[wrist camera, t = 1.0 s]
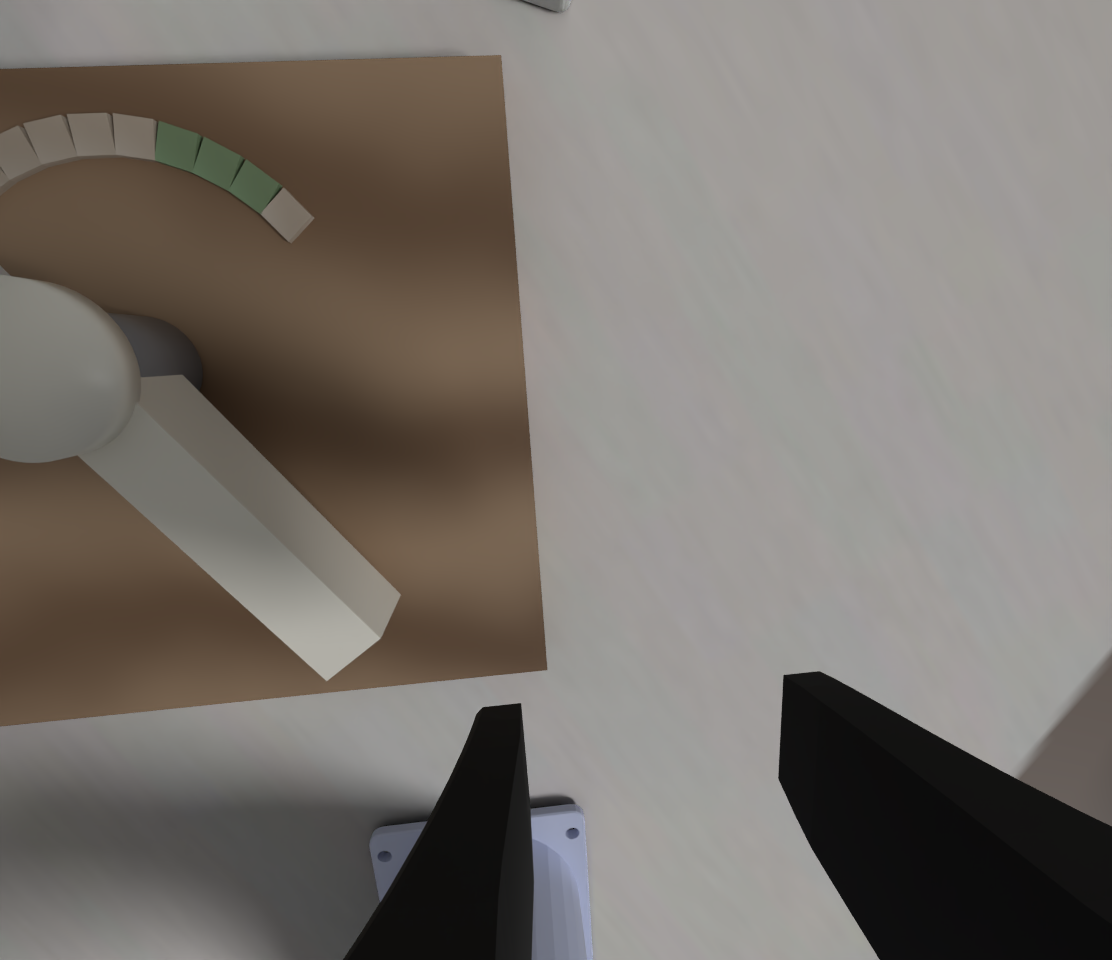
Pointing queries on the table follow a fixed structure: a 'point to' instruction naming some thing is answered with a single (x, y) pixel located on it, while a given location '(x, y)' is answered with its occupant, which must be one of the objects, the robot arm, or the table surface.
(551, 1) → the ink box
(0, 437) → the lever
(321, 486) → the wood grain tray mat
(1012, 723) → the table surface
